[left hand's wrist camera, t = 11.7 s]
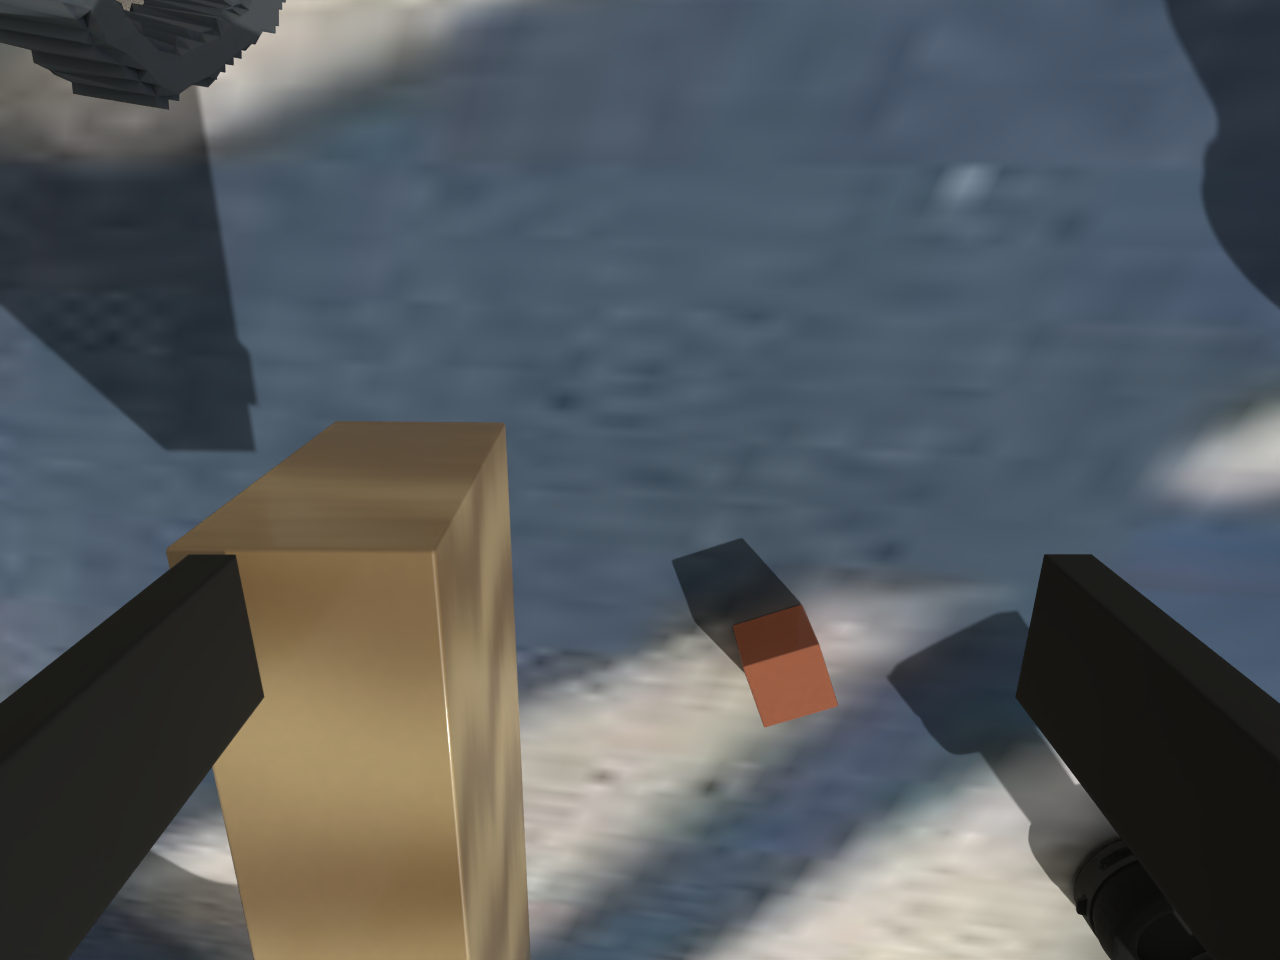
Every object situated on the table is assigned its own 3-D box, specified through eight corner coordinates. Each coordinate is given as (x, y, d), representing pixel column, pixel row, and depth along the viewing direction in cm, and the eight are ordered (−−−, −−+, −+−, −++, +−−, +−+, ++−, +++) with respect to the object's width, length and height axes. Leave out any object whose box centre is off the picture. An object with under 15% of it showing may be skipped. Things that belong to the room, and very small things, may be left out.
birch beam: (335, 420, 20) (163, 548, 13) (505, 422, 20) (434, 549, 13) (413, 1046, 28) (336, 1350, 21) (534, 1045, 28) (502, 1347, 21)
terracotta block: (801, 603, 42) (819, 643, 38) (820, 662, 43) (838, 706, 40) (732, 625, 43) (742, 666, 39) (752, 682, 44) (764, 728, 40)
